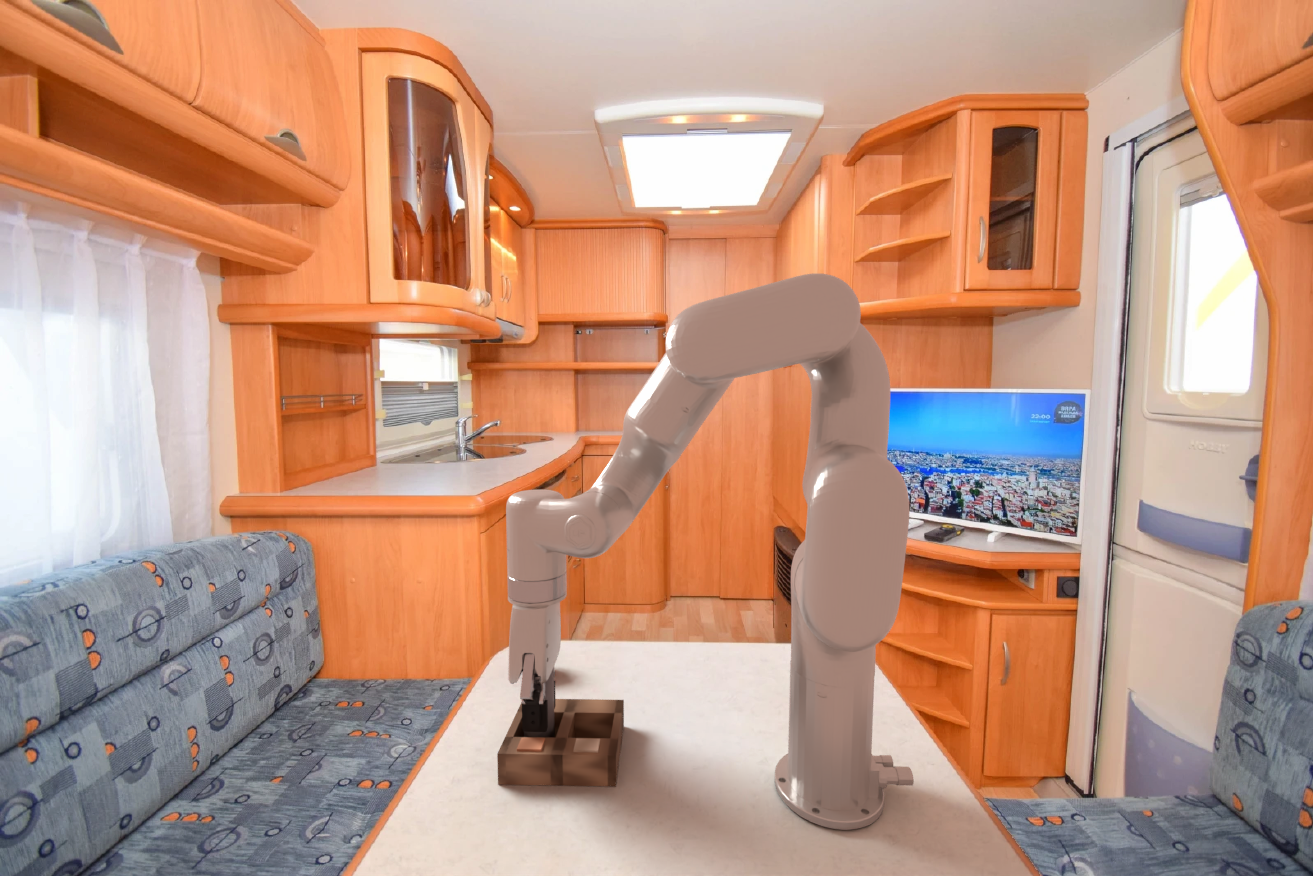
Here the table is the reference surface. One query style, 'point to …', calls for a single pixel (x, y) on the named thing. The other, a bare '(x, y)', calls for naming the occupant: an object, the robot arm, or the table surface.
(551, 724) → the plug
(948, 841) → the table surface
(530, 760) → the socket block
